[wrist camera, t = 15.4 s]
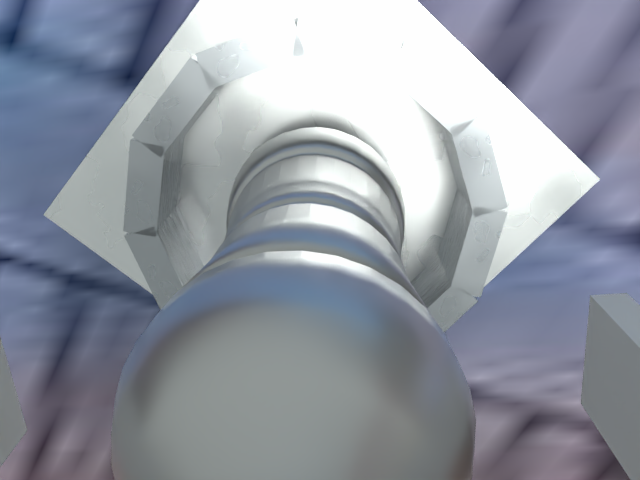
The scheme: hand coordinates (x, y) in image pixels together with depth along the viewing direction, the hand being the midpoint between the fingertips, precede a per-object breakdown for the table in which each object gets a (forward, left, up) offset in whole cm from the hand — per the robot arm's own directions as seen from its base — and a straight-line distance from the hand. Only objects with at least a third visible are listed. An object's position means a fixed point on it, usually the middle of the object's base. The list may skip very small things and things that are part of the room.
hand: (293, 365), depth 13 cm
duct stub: (0, 0, -13) cm, 13 cm away
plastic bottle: (0, 0, -12) cm, 12 cm away
